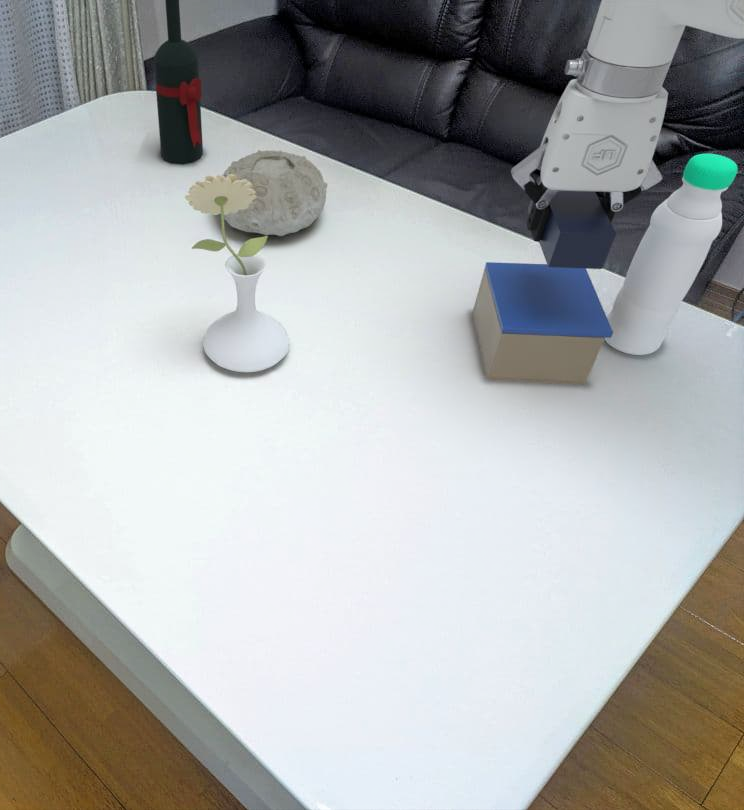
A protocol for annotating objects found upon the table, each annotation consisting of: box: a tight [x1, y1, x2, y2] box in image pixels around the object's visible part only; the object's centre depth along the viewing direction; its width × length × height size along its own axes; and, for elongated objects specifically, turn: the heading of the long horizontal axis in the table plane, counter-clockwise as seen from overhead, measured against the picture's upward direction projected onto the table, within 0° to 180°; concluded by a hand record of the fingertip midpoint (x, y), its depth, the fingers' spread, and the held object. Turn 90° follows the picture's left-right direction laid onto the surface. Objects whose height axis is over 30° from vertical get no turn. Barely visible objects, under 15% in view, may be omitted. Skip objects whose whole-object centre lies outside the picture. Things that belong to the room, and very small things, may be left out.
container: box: [471, 268, 605, 386], centre depth 93 cm, size 12×14×8 cm
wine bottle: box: [153, 0, 204, 165], centre depth 127 cm, size 8×10×30 cm
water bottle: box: [604, 153, 739, 356], centre depth 87 cm, size 7×7×25 cm
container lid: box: [484, 261, 613, 338], centre depth 90 cm, size 12×14×1 cm
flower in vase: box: [184, 174, 291, 373], centre depth 89 cm, size 13×11×25 cm
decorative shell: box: [222, 149, 328, 237], centre depth 117 cm, size 18×18×10 cm
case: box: [527, 176, 617, 270], centre depth 82 cm, size 12×6×4 cm, turn 173°
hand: (564, 234), depth 84 cm, fingers closed on case, 5 cm apart
